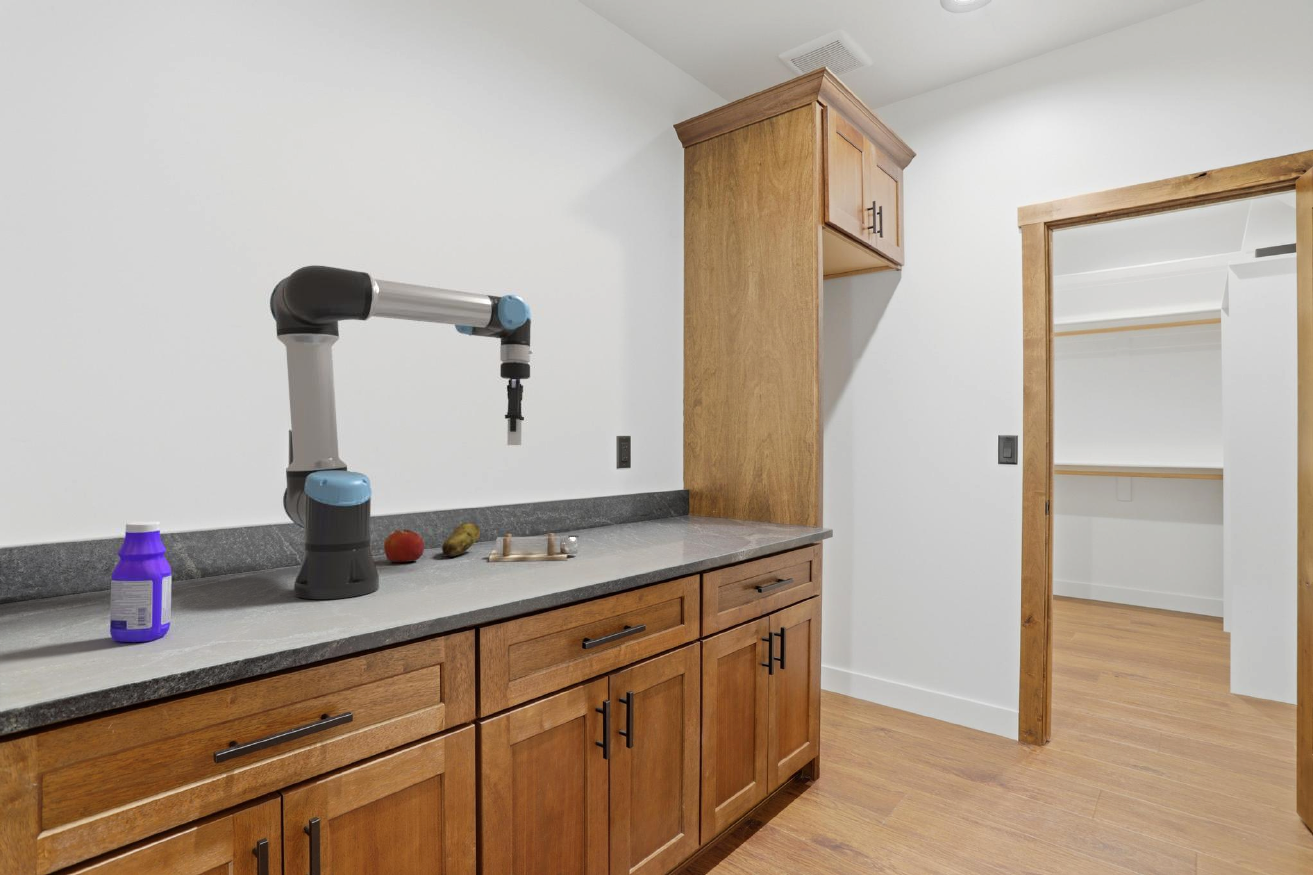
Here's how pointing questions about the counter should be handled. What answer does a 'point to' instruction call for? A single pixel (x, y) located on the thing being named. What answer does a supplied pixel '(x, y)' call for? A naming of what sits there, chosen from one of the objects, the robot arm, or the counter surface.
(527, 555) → the rack
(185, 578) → the counter surface
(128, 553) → the bottle
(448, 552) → the potato
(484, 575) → the counter surface
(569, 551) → the clear glass container
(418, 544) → the tomato
